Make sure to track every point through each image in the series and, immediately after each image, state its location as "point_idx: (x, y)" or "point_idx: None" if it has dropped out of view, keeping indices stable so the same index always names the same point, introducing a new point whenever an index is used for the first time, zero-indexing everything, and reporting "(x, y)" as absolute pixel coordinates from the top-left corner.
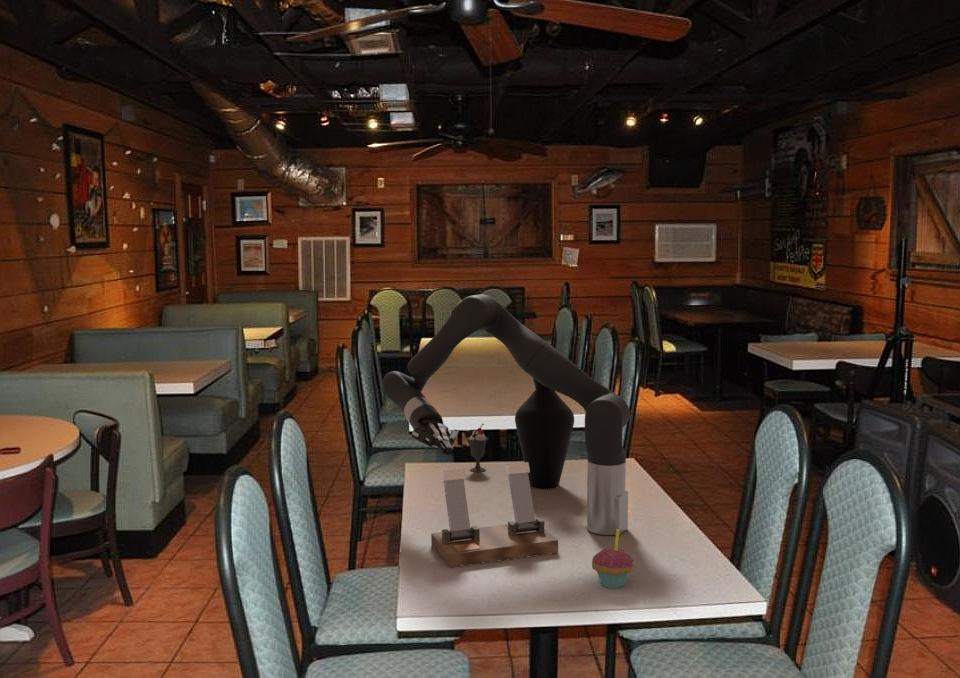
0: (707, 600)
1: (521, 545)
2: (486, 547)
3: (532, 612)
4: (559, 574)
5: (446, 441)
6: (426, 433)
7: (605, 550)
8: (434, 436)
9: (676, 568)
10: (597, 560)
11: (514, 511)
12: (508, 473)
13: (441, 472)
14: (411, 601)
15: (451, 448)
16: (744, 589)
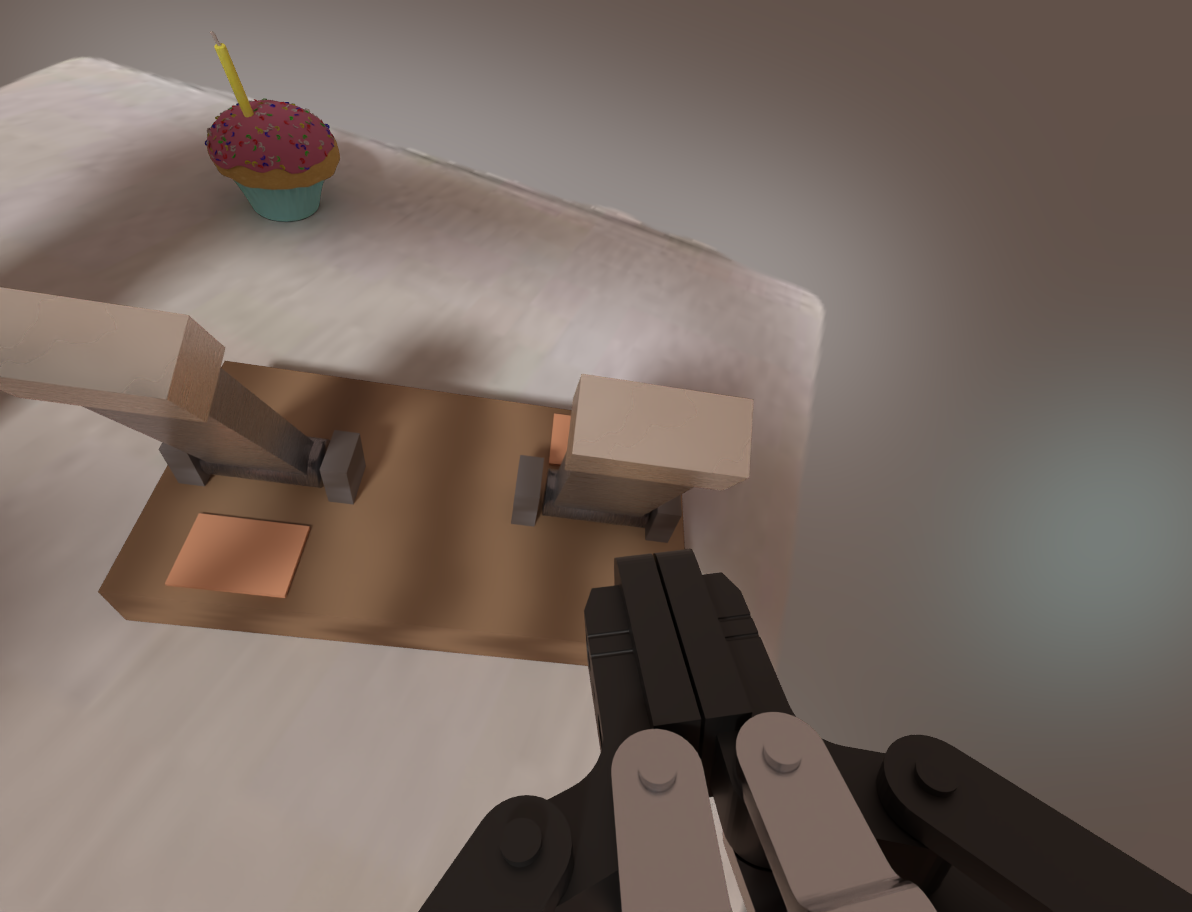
0: (171, 90)
1: (389, 386)
2: (524, 418)
3: (559, 202)
4: (369, 288)
5: (669, 696)
6: (1104, 900)
7: (273, 128)
8: (902, 798)
9: (28, 183)
10: (326, 138)
11: (290, 452)
12: (217, 361)
13: (747, 447)
14: (807, 336)
15: (628, 557)
16: (33, 77)
